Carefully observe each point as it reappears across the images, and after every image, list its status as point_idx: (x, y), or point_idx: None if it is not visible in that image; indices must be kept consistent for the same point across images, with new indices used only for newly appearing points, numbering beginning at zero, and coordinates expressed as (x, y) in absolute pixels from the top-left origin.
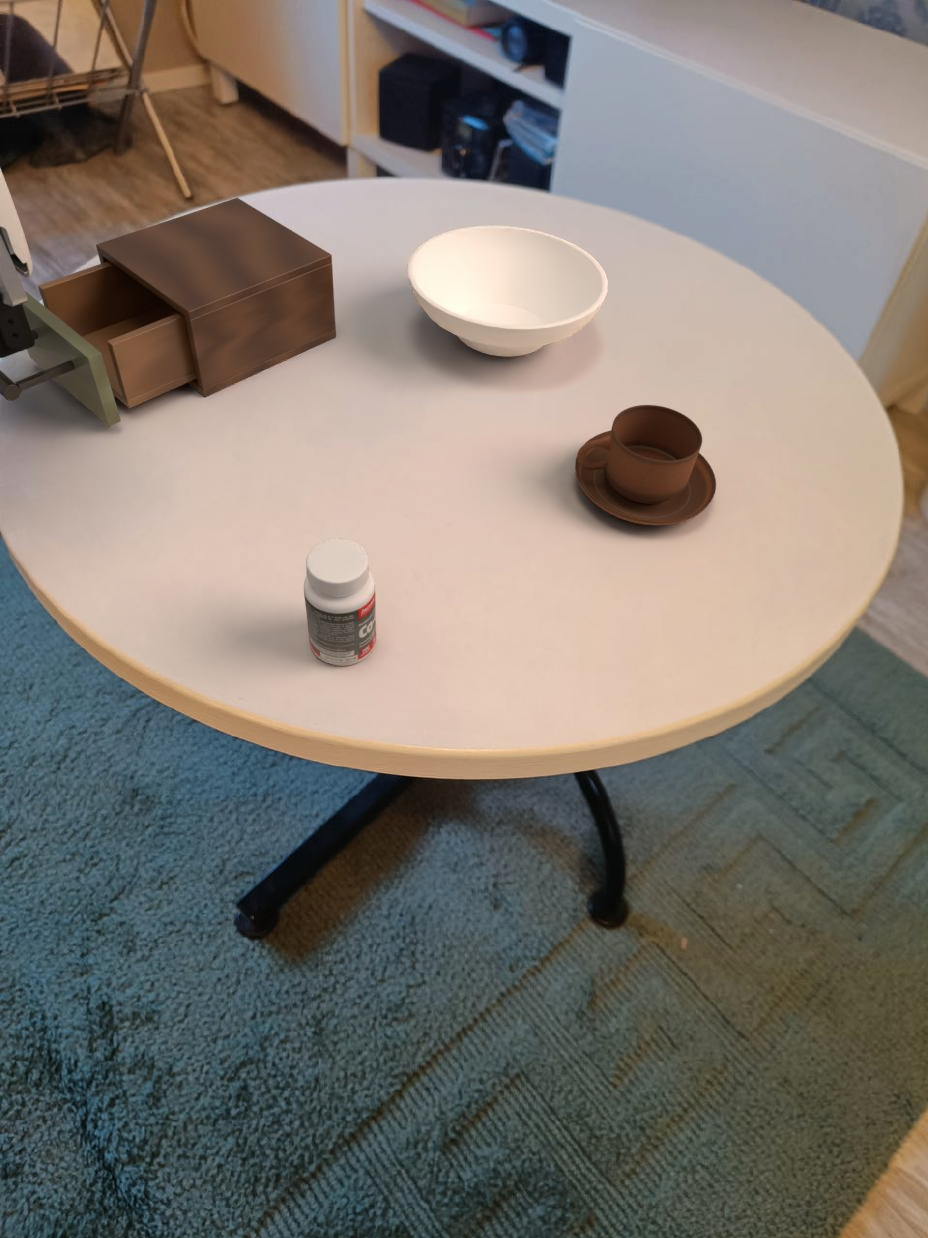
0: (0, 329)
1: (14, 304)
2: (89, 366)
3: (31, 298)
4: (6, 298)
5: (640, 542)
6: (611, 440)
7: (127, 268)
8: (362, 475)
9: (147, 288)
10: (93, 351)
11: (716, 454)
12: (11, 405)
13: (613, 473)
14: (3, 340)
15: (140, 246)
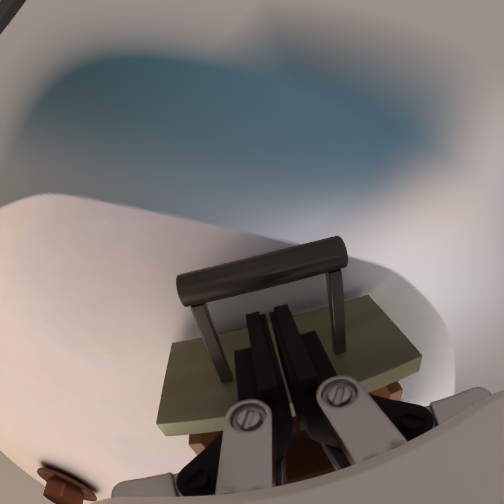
0: (240, 377)
1: (115, 489)
2: (159, 410)
3: (374, 388)
4: (139, 494)
5: (37, 461)
6: (61, 496)
7: None
8: (80, 436)
9: (296, 477)
10: (171, 431)
11: None
12: (296, 245)
13: (56, 484)
14: (244, 354)
15: None
